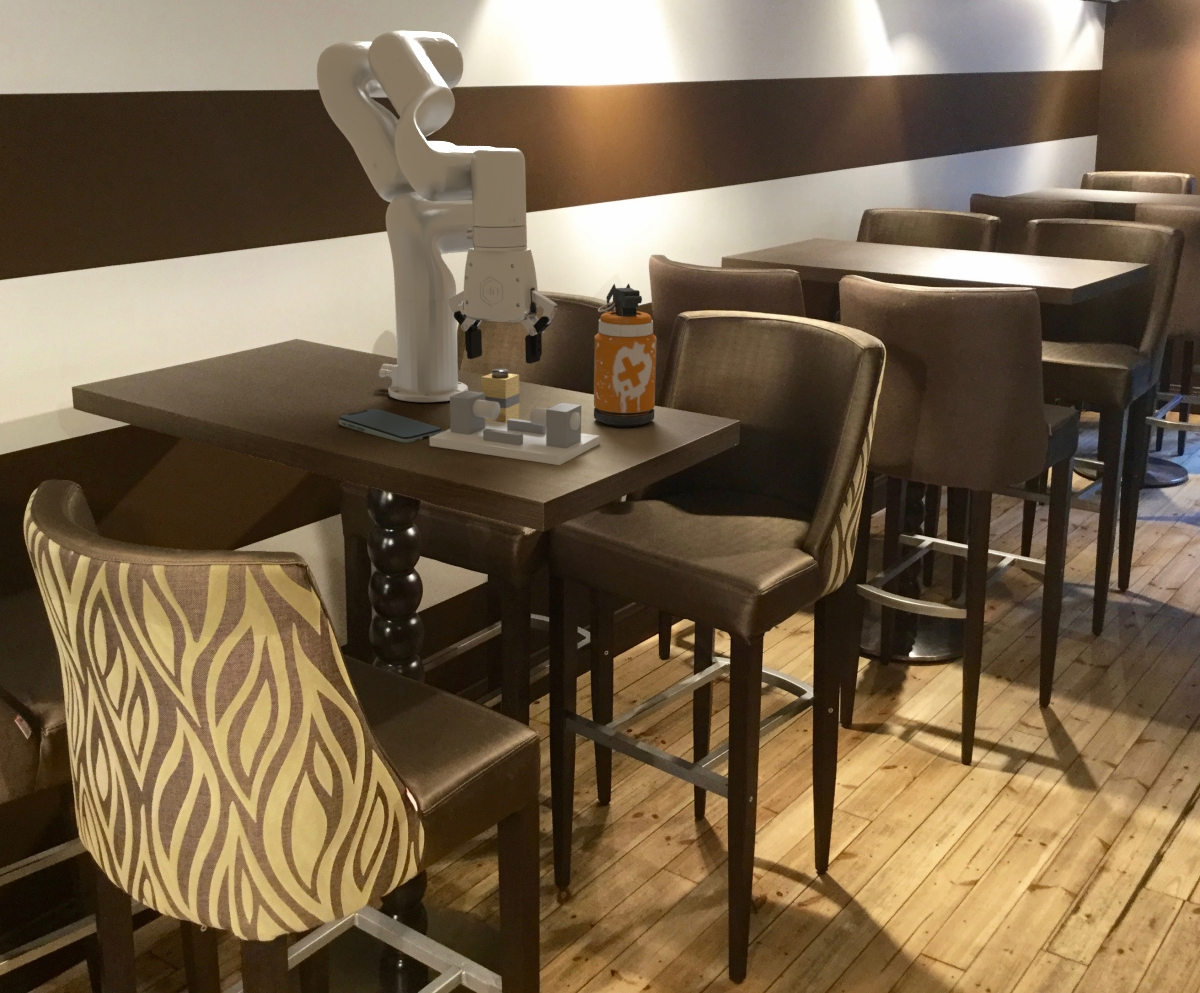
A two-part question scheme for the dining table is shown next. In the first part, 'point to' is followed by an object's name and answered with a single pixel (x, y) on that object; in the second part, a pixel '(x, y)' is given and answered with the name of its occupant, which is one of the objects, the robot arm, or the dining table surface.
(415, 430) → the smartphone
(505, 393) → the block
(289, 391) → the dining table surface
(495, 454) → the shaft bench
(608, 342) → the canister
